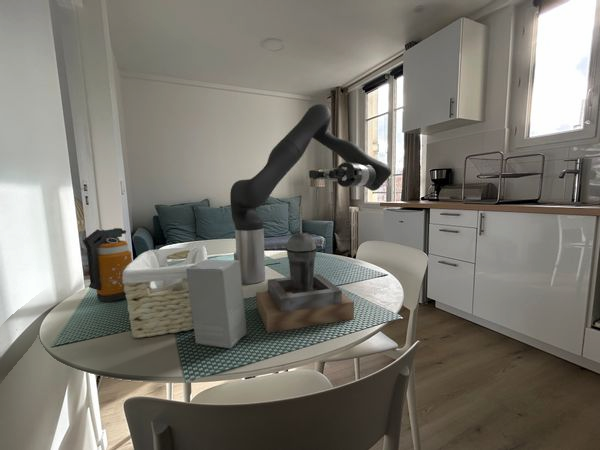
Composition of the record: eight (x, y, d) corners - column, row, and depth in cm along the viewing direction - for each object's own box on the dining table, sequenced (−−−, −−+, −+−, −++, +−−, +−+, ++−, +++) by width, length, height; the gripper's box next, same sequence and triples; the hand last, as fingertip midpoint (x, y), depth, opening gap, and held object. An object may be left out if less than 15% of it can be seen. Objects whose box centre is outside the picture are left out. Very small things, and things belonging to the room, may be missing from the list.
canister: (141, 294, 84) (135, 226, 82) (102, 308, 74) (94, 232, 72) (122, 290, 88) (115, 225, 86) (82, 303, 78) (74, 230, 76)
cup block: (267, 333, 59) (266, 300, 59) (256, 307, 73) (255, 280, 72) (353, 318, 65) (353, 289, 64) (329, 297, 79) (329, 272, 78)
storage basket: (147, 301, 79) (143, 248, 77) (209, 293, 84) (206, 244, 82) (125, 345, 56) (118, 271, 54) (211, 331, 61) (207, 263, 59)
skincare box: (247, 334, 59) (244, 259, 57) (228, 352, 52) (223, 268, 51) (212, 328, 62) (208, 256, 60) (190, 345, 55) (184, 265, 53)
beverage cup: (317, 291, 72) (317, 212, 70) (316, 302, 65) (315, 214, 63) (289, 290, 73) (287, 212, 70) (285, 301, 66) (282, 214, 63)
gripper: (334, 164, 96) (302, 161, 84) (373, 161, 86) (343, 157, 74) (334, 187, 96) (302, 187, 84) (372, 186, 87) (343, 186, 75)
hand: (321, 173), depth 79 cm, fingers open, 8 cm apart
